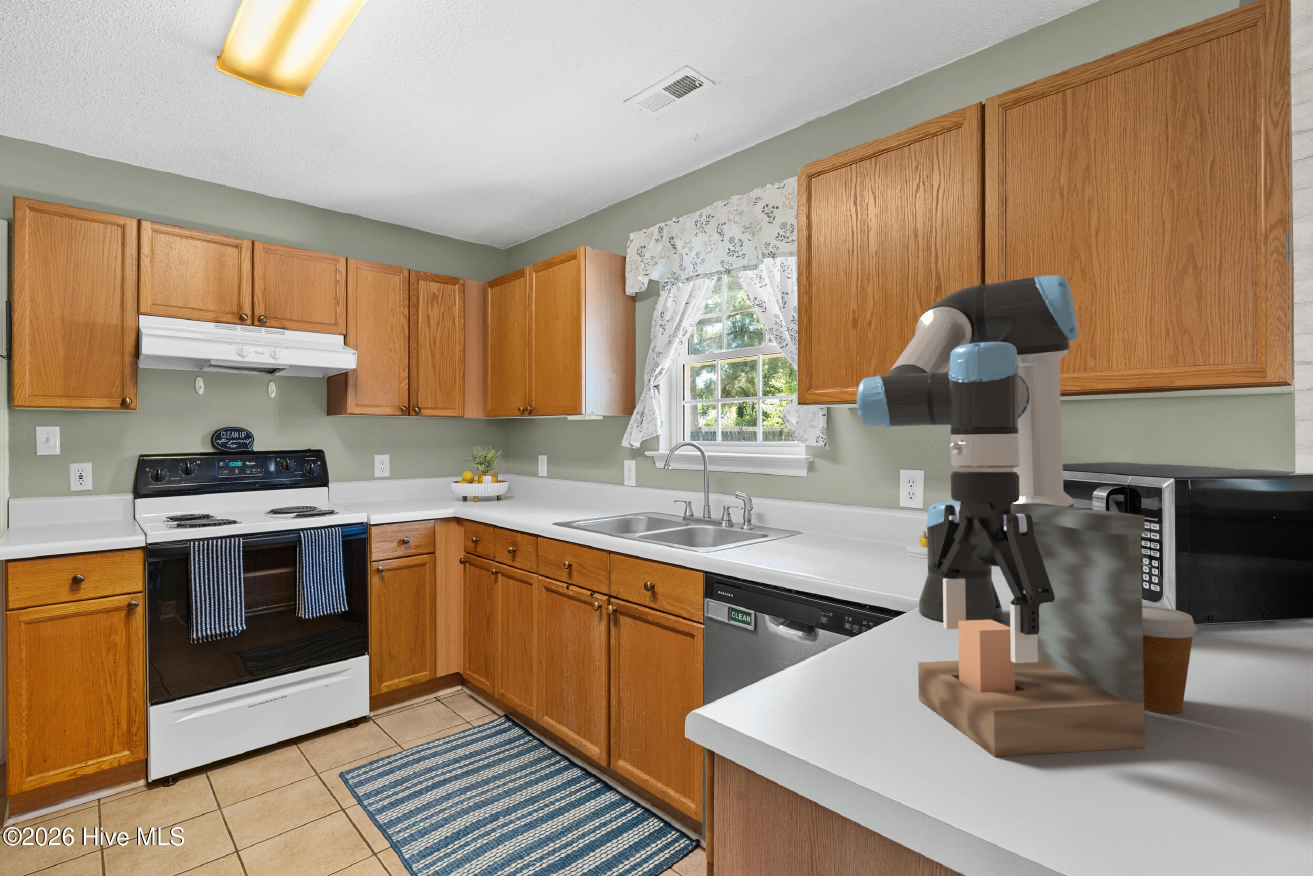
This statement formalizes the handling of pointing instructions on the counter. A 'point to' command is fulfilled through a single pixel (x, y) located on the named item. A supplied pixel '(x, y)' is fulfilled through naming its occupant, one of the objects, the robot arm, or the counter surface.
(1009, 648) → the peg
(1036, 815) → the counter surface
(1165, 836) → the counter surface
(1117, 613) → the socket stand
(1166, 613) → the disposable coffee cup
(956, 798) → the counter surface
